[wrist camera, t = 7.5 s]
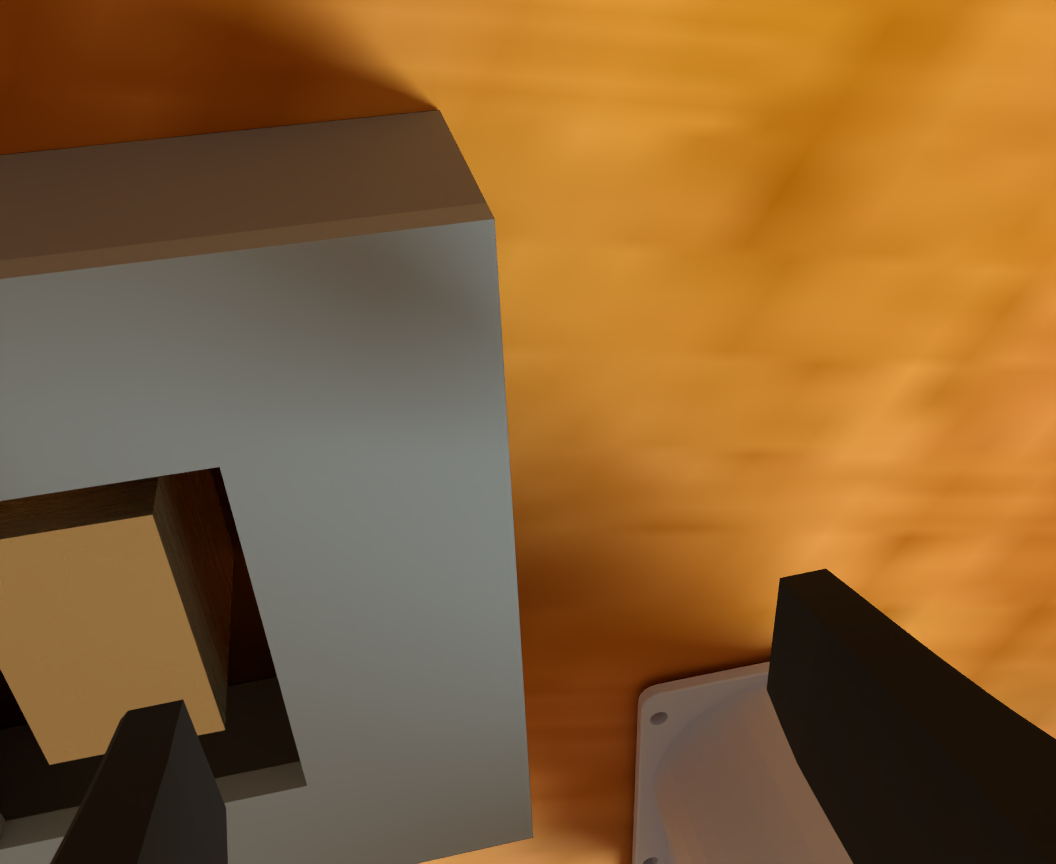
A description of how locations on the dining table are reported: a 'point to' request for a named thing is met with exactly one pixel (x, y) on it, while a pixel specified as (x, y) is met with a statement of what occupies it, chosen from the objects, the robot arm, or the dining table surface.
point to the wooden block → (115, 607)
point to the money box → (291, 461)
